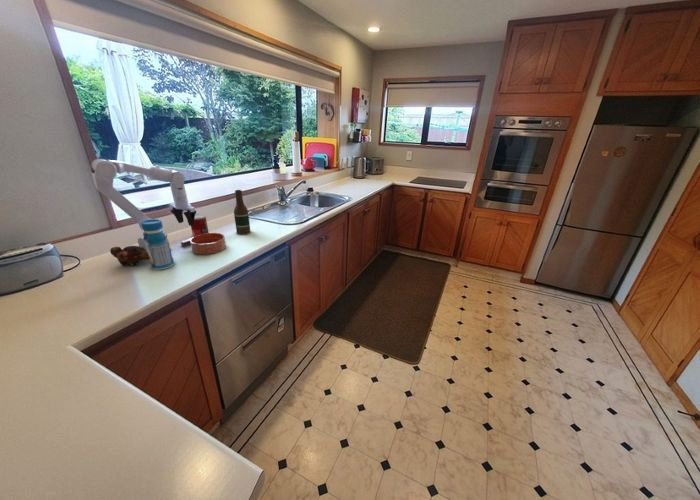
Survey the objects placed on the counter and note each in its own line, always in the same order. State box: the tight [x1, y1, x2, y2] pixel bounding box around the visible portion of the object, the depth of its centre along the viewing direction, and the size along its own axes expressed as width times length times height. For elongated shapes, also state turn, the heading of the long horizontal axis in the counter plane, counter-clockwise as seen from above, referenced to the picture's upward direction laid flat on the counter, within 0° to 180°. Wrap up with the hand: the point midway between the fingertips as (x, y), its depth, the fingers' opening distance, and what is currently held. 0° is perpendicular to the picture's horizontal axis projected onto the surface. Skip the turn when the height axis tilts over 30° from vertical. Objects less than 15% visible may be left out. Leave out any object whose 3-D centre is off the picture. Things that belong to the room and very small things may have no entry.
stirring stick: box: [180, 236, 194, 248], centre depth 142 cm, size 9×2×2 cm, turn 155°
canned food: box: [190, 213, 210, 237], centre depth 150 cm, size 8×8×11 cm
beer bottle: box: [233, 189, 251, 236], centre depth 154 cm, size 8×8×24 cm
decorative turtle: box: [109, 245, 150, 267], centre depth 120 cm, size 10×15×8 cm, turn 104°
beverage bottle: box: [141, 218, 175, 271], centre depth 116 cm, size 8×8×20 cm
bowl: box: [189, 232, 227, 255], centre depth 136 cm, size 15×15×6 cm
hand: (186, 223), depth 139 cm, fingers open, 7 cm apart
